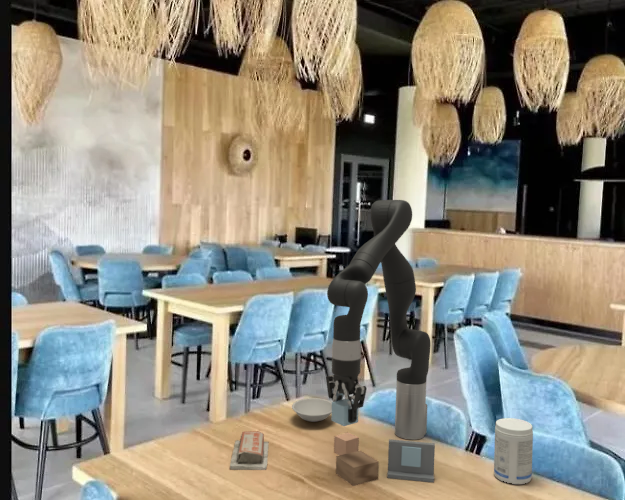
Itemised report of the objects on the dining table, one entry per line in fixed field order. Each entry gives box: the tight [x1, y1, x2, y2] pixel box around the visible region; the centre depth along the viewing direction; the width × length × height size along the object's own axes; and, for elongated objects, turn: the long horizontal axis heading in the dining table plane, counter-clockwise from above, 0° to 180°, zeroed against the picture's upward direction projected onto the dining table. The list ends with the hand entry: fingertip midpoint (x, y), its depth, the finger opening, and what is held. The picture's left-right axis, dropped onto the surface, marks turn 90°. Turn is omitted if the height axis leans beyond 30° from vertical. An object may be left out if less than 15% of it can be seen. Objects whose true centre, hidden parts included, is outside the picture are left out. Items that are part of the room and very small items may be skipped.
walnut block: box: [335, 450, 380, 487], centre depth 159 cm, size 8×8×5 cm
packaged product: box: [229, 430, 269, 471], centre depth 170 cm, size 18×5×10 cm
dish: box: [291, 397, 333, 423], centre depth 199 cm, size 18×14×5 cm
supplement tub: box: [493, 417, 534, 485], centre depth 160 cm, size 10×10×15 cm
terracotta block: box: [333, 431, 360, 456], centre depth 174 cm, size 5×5×5 cm
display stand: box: [386, 438, 436, 483], centre depth 160 cm, size 6×12×9 cm, turn 80°
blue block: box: [330, 398, 360, 427], centre depth 159 cm, size 5×5×5 cm
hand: (345, 418), depth 159 cm, fingers closed on blue block, 5 cm apart
